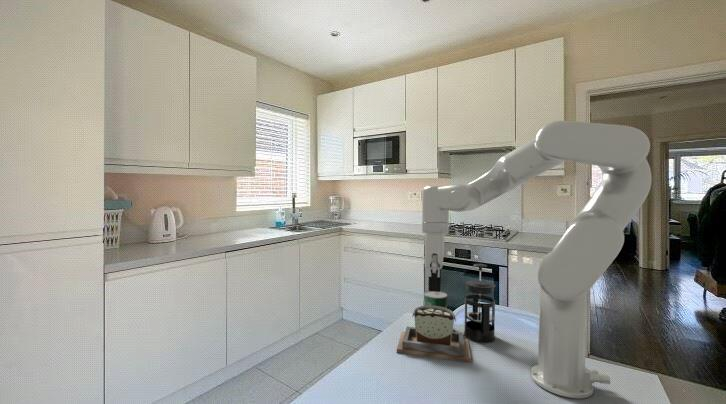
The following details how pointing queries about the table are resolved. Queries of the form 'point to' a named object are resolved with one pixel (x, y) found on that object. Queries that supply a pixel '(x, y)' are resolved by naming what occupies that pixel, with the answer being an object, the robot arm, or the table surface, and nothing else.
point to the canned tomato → (435, 299)
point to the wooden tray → (434, 346)
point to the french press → (479, 321)
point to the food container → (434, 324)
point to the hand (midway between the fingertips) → (434, 286)
